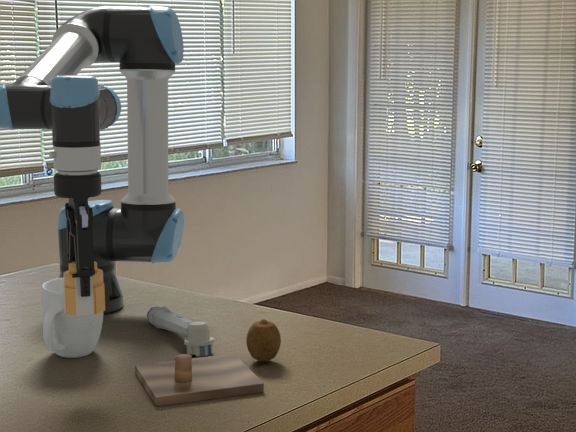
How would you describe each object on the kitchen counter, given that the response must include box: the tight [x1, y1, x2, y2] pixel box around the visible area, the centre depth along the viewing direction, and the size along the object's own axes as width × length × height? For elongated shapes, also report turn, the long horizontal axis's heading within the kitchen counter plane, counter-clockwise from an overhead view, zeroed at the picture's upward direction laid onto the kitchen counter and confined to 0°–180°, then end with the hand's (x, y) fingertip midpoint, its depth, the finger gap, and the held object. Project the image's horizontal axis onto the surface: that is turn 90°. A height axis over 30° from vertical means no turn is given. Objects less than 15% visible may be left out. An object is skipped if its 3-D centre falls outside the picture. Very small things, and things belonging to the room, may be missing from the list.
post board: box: [134, 353, 265, 407], centre depth 150 cm, size 16×18×6 cm
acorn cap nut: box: [63, 261, 105, 316], centre depth 148 cm, size 6×6×8 cm
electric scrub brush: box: [146, 306, 215, 358], centre depth 173 cm, size 5×7×25 cm
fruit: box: [245, 318, 282, 364], centre depth 161 cm, size 6×6×8 cm
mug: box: [41, 277, 104, 359], centre depth 162 cm, size 15×11×13 cm
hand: (81, 308), depth 149 cm, fingers closed on acorn cap nut, 6 cm apart
